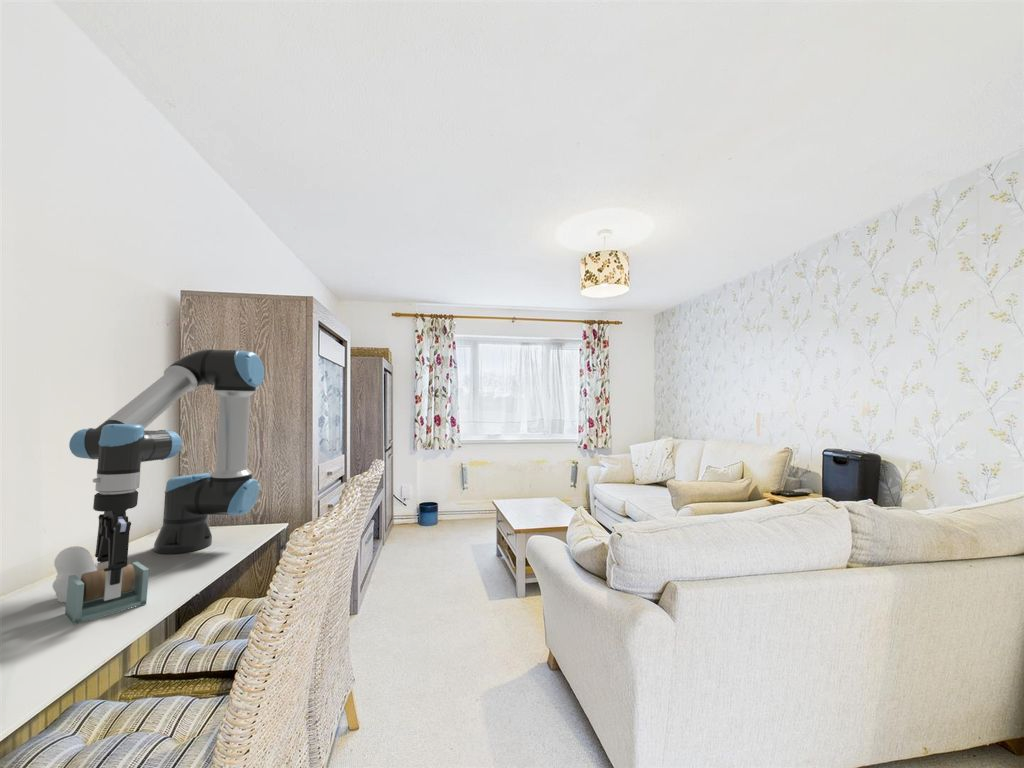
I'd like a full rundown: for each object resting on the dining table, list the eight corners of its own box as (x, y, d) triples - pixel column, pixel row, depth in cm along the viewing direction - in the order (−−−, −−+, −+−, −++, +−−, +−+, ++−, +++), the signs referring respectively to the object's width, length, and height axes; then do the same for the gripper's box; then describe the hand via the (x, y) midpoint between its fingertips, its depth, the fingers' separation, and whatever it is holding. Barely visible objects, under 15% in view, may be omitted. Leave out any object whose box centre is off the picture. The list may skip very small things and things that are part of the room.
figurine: (53, 596, 104) (58, 545, 104) (97, 588, 108) (101, 539, 109) (48, 607, 98) (53, 553, 99) (94, 598, 103) (99, 547, 104)
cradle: (134, 595, 106) (137, 561, 106) (146, 604, 101) (149, 569, 102) (65, 613, 96) (68, 575, 96) (74, 624, 91) (77, 585, 92)
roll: (124, 587, 103) (127, 561, 104) (132, 594, 100) (135, 567, 100) (78, 598, 97) (81, 570, 97) (85, 605, 93) (88, 576, 94)
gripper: (83, 488, 102) (74, 588, 101) (107, 499, 92) (97, 612, 90) (125, 484, 109) (116, 579, 107) (152, 494, 98) (142, 600, 96)
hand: (107, 594), depth 99 cm, fingers closed on roll, 6 cm apart
